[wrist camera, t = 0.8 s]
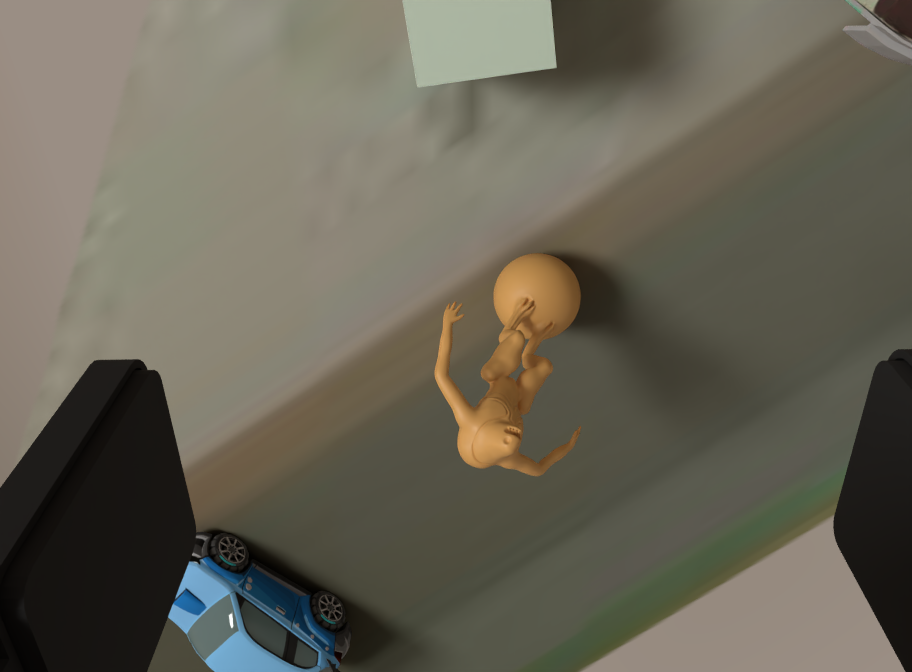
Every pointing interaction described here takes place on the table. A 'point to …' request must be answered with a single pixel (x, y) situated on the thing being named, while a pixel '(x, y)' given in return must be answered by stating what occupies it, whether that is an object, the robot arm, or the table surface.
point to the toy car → (255, 614)
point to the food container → (885, 28)
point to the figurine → (512, 362)
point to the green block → (478, 38)
